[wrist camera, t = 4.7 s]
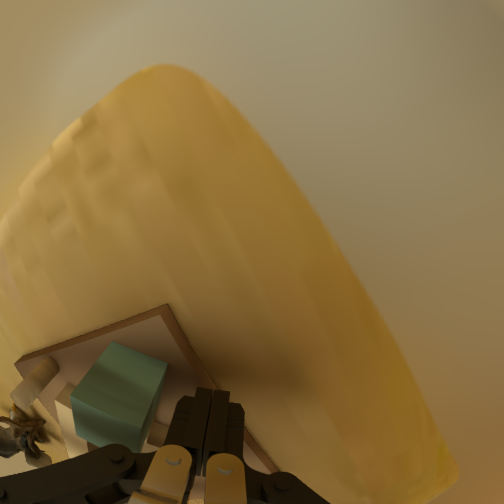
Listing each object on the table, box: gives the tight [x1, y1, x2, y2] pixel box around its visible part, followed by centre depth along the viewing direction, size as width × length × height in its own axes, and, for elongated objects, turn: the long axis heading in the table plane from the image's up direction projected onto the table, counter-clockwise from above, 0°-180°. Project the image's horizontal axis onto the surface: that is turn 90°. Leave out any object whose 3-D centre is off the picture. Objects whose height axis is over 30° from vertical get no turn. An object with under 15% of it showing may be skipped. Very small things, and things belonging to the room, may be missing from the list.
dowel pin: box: [11, 356, 60, 411], centre depth 10 cm, size 1×1×4 cm
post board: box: [14, 304, 279, 504], centre depth 11 cm, size 17×14×8 cm
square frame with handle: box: [55, 341, 169, 458], centre depth 11 cm, size 14×9×4 cm, turn 161°
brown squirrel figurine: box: [0, 403, 52, 468], centre depth 13 cm, size 8×7×9 cm
